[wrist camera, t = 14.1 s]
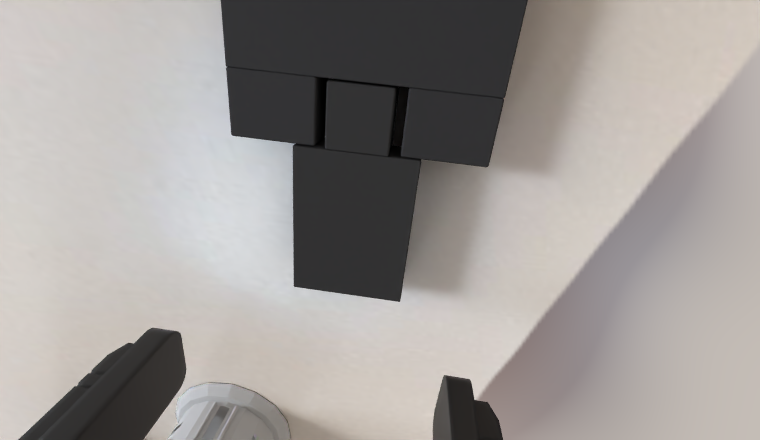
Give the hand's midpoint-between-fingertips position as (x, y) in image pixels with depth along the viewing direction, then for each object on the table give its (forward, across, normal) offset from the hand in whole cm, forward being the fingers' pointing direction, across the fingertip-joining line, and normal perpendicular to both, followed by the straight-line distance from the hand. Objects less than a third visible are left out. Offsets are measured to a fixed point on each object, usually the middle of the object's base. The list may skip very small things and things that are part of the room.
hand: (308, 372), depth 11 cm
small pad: (+11, 0, -2) cm, 11 cm away
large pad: (+11, 0, -10) cm, 15 cm away
